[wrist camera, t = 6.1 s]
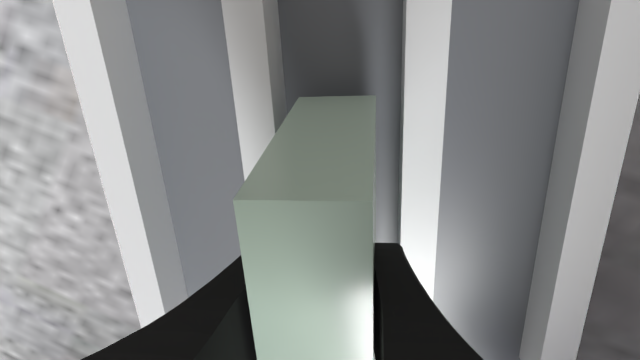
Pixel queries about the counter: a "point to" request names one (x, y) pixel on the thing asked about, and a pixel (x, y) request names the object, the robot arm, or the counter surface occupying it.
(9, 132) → the counter surface
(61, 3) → the rack
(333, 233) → the mint green upright block
